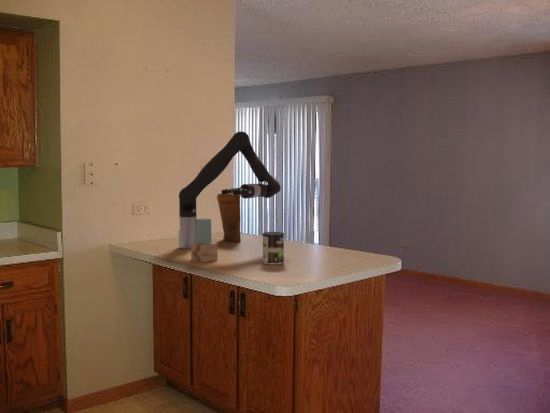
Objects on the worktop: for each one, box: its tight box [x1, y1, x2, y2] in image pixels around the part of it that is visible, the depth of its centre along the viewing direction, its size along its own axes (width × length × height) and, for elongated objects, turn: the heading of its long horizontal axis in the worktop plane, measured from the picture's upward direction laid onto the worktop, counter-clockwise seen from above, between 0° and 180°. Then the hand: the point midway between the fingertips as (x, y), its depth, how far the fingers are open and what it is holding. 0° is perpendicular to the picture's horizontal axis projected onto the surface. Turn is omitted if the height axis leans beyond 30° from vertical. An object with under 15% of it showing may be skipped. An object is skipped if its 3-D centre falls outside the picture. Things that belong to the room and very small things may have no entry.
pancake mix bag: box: [216, 193, 242, 243], centre depth 335 cm, size 7×19×28 cm, turn 43°
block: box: [190, 242, 218, 263], centre depth 277 cm, size 9×9×8 cm
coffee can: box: [261, 231, 285, 265], centre depth 269 cm, size 10×10×14 cm
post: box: [196, 217, 212, 245], centre depth 276 cm, size 5×5×12 cm
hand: (227, 192), depth 286 cm, fingers open, 8 cm apart
